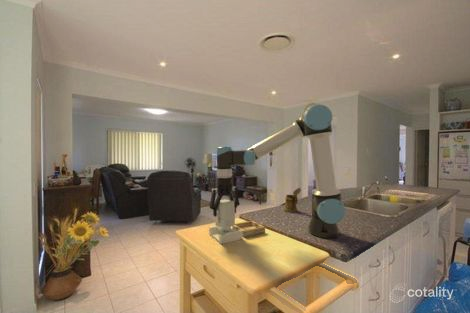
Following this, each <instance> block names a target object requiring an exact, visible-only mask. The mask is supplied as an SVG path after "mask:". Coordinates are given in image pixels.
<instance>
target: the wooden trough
mask: <svg viewBox="0 0 470 313" xmlns="http://www.w3.org/2000/svg"><path fill="white" fill-rule="evenodd" d="M231 227H232V228H231V229H233V230H235V231H238V230H242V238H244V239H245V238H249V237H253V236H258V235H263V234H266V227H265V226H264V225H262V224H260V223H257V222H255V221H254V220H248V221H244V222H237V223H235V225H234V226H231Z"/></svg>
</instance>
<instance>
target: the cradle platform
mask: <svg viewBox="0 0 470 313" xmlns="http://www.w3.org/2000/svg"><path fill="white" fill-rule="evenodd" d="M216 229H217V230H218V231H219V232H221V233H222V232H225V233H229V232H233V231H235V230H233V229H232V228H230V227H228V228H226V229H225V228H221V227H216Z"/></svg>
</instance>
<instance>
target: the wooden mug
mask: <svg viewBox="0 0 470 313" xmlns="http://www.w3.org/2000/svg"><path fill="white" fill-rule="evenodd" d="M301 191H302V189H301V187H298V188H296V189H295V190H294V191H293V193H292V194H286V195H285V203H284V208H283V212H285V213H296V212H297V211H298V208H297V205H298V202H299V201H298V200H299V198H298V195H300V193H301Z"/></svg>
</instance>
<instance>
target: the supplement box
mask: <svg viewBox="0 0 470 313" xmlns="http://www.w3.org/2000/svg"><path fill="white" fill-rule="evenodd" d="M234 201H235V200H234ZM234 201H231V200H230V199H221V200H220V203H219V205H218V208H217V210H218V218H219V223H216V222H215V221H214V223H215V226H218V227H221V228H225V229H226V228H228V227H232V226H234V225H235V224H236V222H235V221H236V213H235V211H234Z"/></svg>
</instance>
